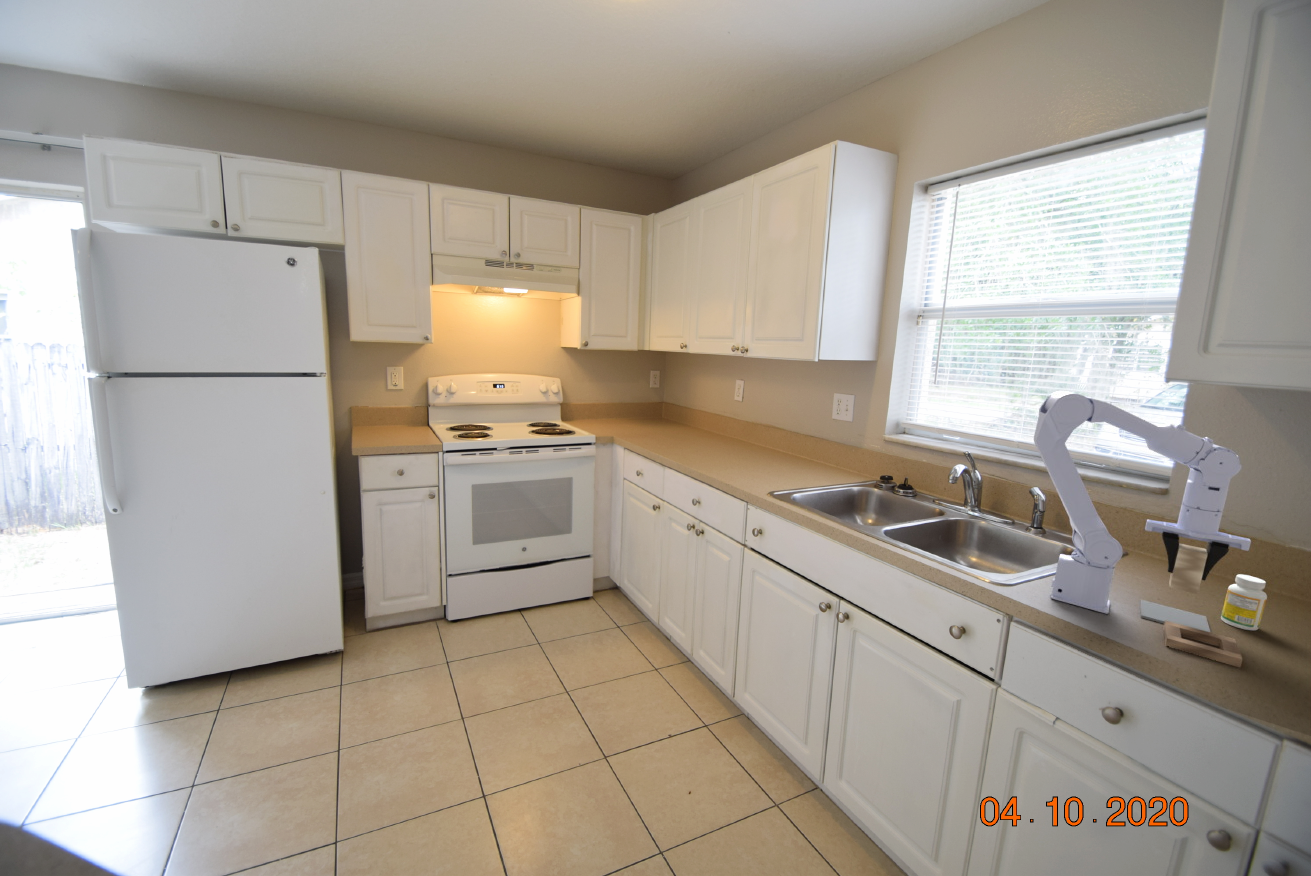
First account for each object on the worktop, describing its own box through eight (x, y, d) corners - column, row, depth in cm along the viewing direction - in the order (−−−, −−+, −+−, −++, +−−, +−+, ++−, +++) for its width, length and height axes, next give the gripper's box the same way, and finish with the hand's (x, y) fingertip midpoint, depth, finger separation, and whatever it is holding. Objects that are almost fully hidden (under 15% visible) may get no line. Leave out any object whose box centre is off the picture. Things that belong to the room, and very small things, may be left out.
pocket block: (1165, 645, 101) (1167, 638, 101) (1163, 627, 109) (1164, 620, 108) (1240, 667, 96) (1242, 659, 95) (1232, 646, 103) (1234, 638, 102)
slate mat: (1140, 617, 112) (1141, 615, 112) (1140, 601, 120) (1140, 599, 120) (1210, 636, 106) (1211, 633, 106) (1205, 618, 114) (1205, 616, 114)
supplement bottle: (1241, 631, 109) (1254, 583, 108) (1212, 617, 115) (1223, 572, 113) (1266, 631, 110) (1279, 584, 108) (1236, 617, 115) (1247, 572, 114)
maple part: (1169, 587, 111) (1179, 547, 109) (1169, 581, 114) (1177, 543, 112) (1197, 594, 108) (1207, 553, 107) (1196, 587, 111) (1205, 548, 110)
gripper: (1152, 502, 110) (1137, 569, 112) (1259, 521, 101) (1241, 593, 103) (1151, 496, 115) (1137, 559, 117) (1253, 513, 106) (1236, 582, 108)
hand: (1185, 575), depth 111 cm, fingers closed on maple part, 4 cm apart
